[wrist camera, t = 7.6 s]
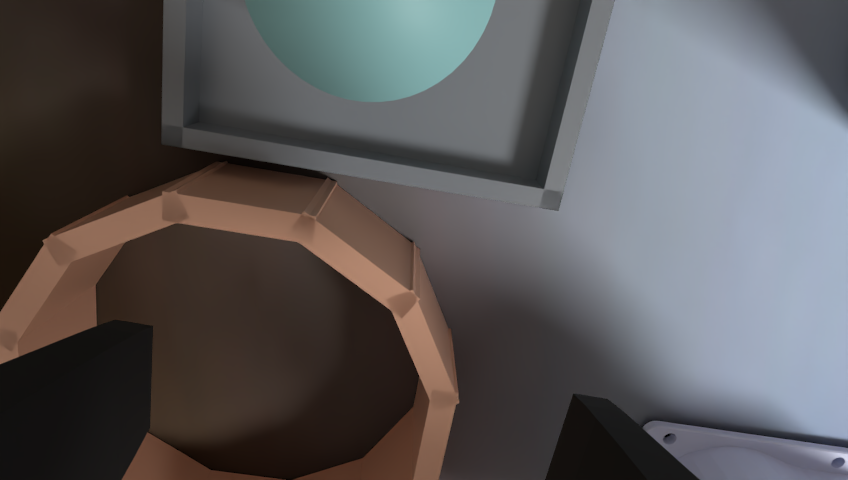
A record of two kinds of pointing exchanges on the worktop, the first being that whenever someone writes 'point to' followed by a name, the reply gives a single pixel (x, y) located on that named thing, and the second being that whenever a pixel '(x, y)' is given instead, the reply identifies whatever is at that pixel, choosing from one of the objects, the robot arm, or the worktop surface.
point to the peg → (371, 42)
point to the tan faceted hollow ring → (269, 217)
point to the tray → (394, 103)
